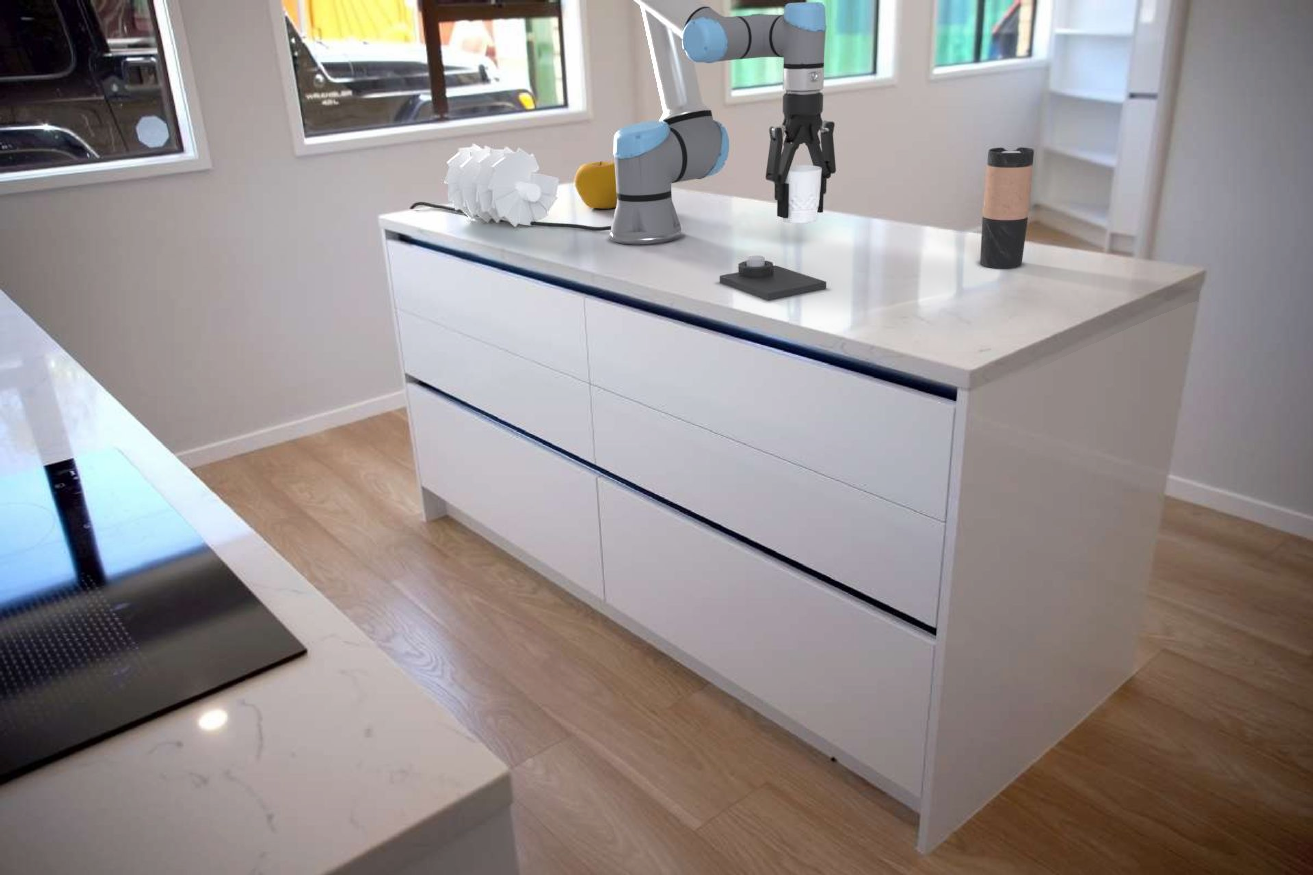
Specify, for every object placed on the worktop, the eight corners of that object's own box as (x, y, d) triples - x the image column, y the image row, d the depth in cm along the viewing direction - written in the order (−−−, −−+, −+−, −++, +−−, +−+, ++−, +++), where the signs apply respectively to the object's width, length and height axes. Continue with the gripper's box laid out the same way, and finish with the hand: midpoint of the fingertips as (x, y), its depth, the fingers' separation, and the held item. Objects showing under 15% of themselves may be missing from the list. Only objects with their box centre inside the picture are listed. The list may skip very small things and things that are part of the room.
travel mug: (1000, 271, 175) (1011, 154, 167) (969, 263, 181) (978, 150, 173) (1032, 264, 178) (1044, 149, 170) (1000, 257, 185) (1010, 145, 177)
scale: (718, 282, 177) (717, 266, 176) (773, 272, 182) (773, 256, 181) (767, 301, 164) (767, 284, 163) (826, 289, 169) (826, 272, 168)
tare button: (743, 265, 177) (742, 257, 176) (758, 263, 178) (758, 254, 177) (753, 269, 174) (753, 260, 173) (768, 266, 175) (768, 257, 175)
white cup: (819, 224, 192) (820, 172, 188) (778, 224, 194) (778, 172, 189) (821, 216, 199) (822, 165, 195) (781, 215, 201) (782, 165, 196)
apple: (627, 212, 243) (624, 164, 238) (574, 214, 243) (570, 166, 239) (629, 202, 255) (626, 156, 250) (579, 204, 255) (575, 159, 250)
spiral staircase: (522, 248, 229) (458, 230, 245) (573, 204, 236) (508, 189, 252) (488, 180, 217) (424, 166, 233) (543, 136, 224) (477, 125, 240)
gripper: (769, 97, 179) (767, 224, 188) (859, 89, 188) (853, 210, 197) (746, 95, 185) (745, 217, 194) (834, 86, 194) (830, 204, 203)
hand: (800, 214), depth 196 cm, fingers closed on white cup, 8 cm apart
